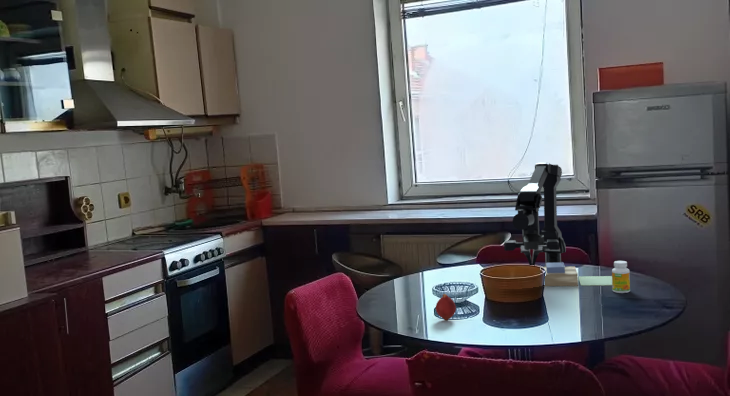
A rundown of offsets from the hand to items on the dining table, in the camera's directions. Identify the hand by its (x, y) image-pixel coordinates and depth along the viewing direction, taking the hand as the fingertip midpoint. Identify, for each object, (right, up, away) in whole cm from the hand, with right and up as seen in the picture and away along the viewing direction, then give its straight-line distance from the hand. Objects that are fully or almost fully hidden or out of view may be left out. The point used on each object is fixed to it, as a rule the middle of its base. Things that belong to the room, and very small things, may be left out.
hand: (532, 269), depth 247 cm
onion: (-35, -11, -41) cm, 55 cm away
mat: (+22, -4, -5) cm, 22 cm away
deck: (+9, -4, -2) cm, 10 cm away
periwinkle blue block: (+8, 0, -2) cm, 8 cm away
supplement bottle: (+24, -5, -20) cm, 32 cm away
